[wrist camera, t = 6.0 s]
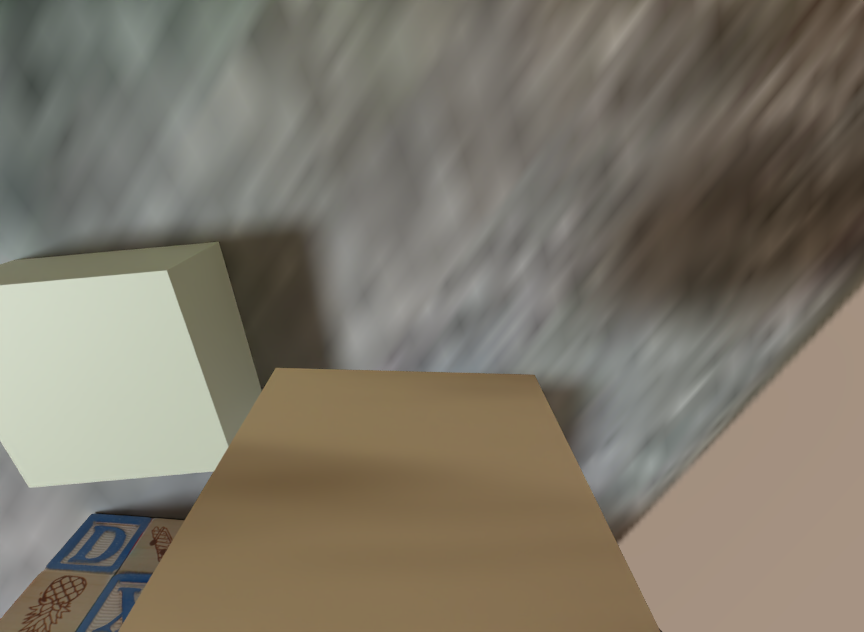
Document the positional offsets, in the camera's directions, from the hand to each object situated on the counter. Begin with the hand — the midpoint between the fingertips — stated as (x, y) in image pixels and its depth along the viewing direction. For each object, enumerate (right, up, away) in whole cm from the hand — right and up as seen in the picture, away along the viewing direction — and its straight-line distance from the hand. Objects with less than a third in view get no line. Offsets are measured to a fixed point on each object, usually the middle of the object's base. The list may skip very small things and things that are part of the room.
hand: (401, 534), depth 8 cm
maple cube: (0, +1, +1) cm, 2 cm away
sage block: (-11, +3, +11) cm, 16 cm away
